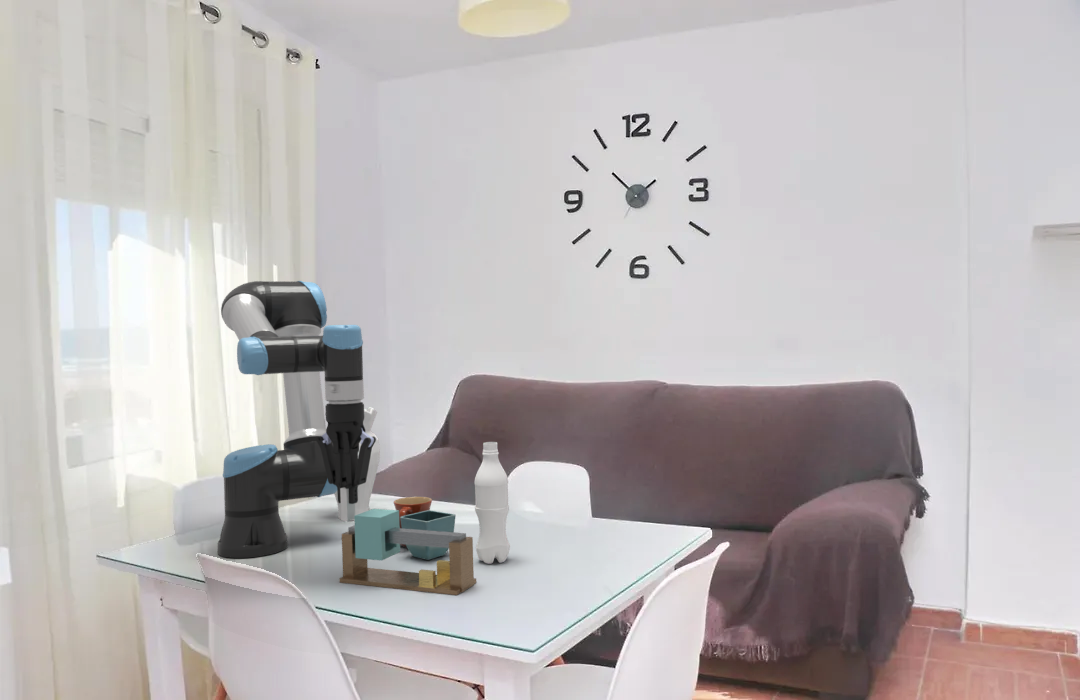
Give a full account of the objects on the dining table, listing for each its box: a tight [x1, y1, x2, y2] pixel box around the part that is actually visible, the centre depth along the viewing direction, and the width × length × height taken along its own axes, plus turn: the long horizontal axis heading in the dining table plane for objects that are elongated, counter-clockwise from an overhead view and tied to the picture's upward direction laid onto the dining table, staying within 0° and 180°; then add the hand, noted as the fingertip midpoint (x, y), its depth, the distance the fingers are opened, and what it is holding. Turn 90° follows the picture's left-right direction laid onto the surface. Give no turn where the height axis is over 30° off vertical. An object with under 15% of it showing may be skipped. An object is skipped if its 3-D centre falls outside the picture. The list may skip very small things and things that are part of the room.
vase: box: [324, 406, 381, 522], centre depth 220 cm, size 15×15×29 cm
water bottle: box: [473, 441, 511, 565], centre depth 174 cm, size 7×7×25 cm
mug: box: [393, 496, 433, 549], centre depth 188 cm, size 12×9×10 cm
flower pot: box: [400, 509, 456, 561], centre depth 179 cm, size 9×9×9 cm
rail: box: [338, 524, 477, 596], centre depth 160 cm, size 26×8×10 cm, turn 68°
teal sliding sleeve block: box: [354, 508, 401, 561], centre depth 163 cm, size 6×7×8 cm
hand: (348, 519), depth 165 cm, fingers closed
